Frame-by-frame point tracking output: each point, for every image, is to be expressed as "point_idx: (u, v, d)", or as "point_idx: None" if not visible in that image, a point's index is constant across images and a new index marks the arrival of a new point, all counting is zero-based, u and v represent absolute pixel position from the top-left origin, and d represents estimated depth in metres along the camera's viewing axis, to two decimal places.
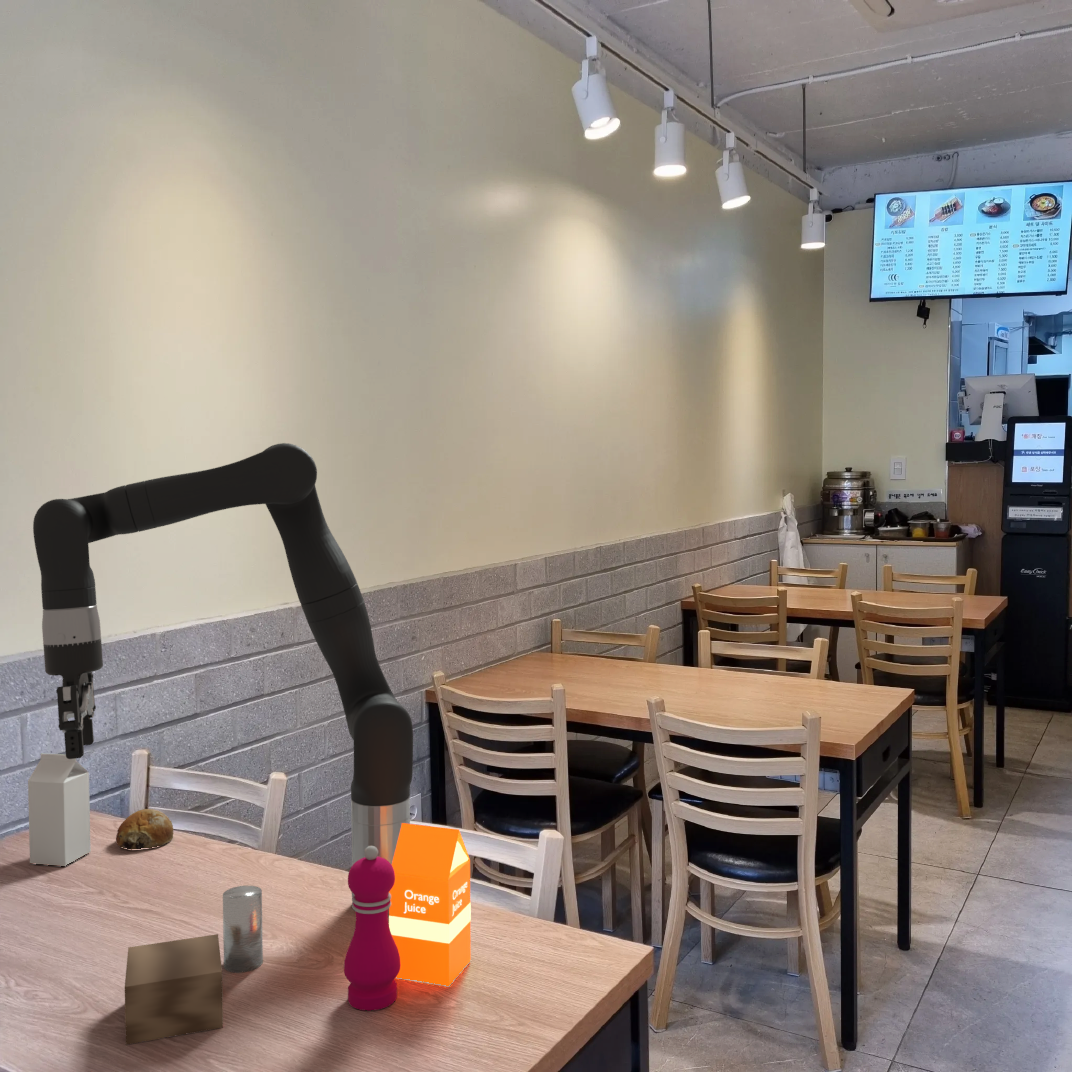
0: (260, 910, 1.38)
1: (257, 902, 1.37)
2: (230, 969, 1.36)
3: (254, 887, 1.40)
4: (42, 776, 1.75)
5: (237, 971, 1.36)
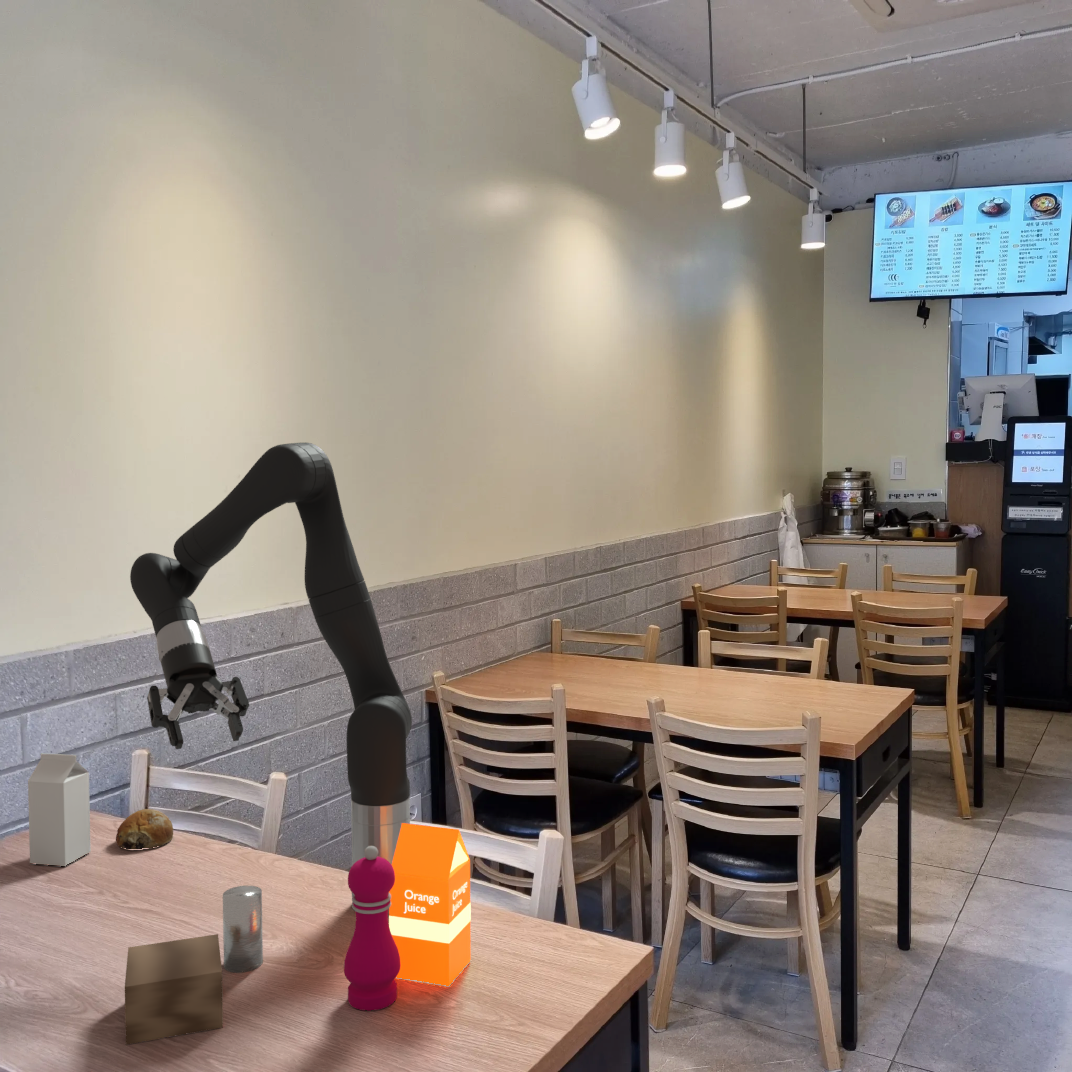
0: (260, 910, 1.38)
1: (257, 902, 1.37)
2: (230, 969, 1.36)
3: (254, 887, 1.40)
4: (42, 776, 1.75)
5: (237, 971, 1.36)
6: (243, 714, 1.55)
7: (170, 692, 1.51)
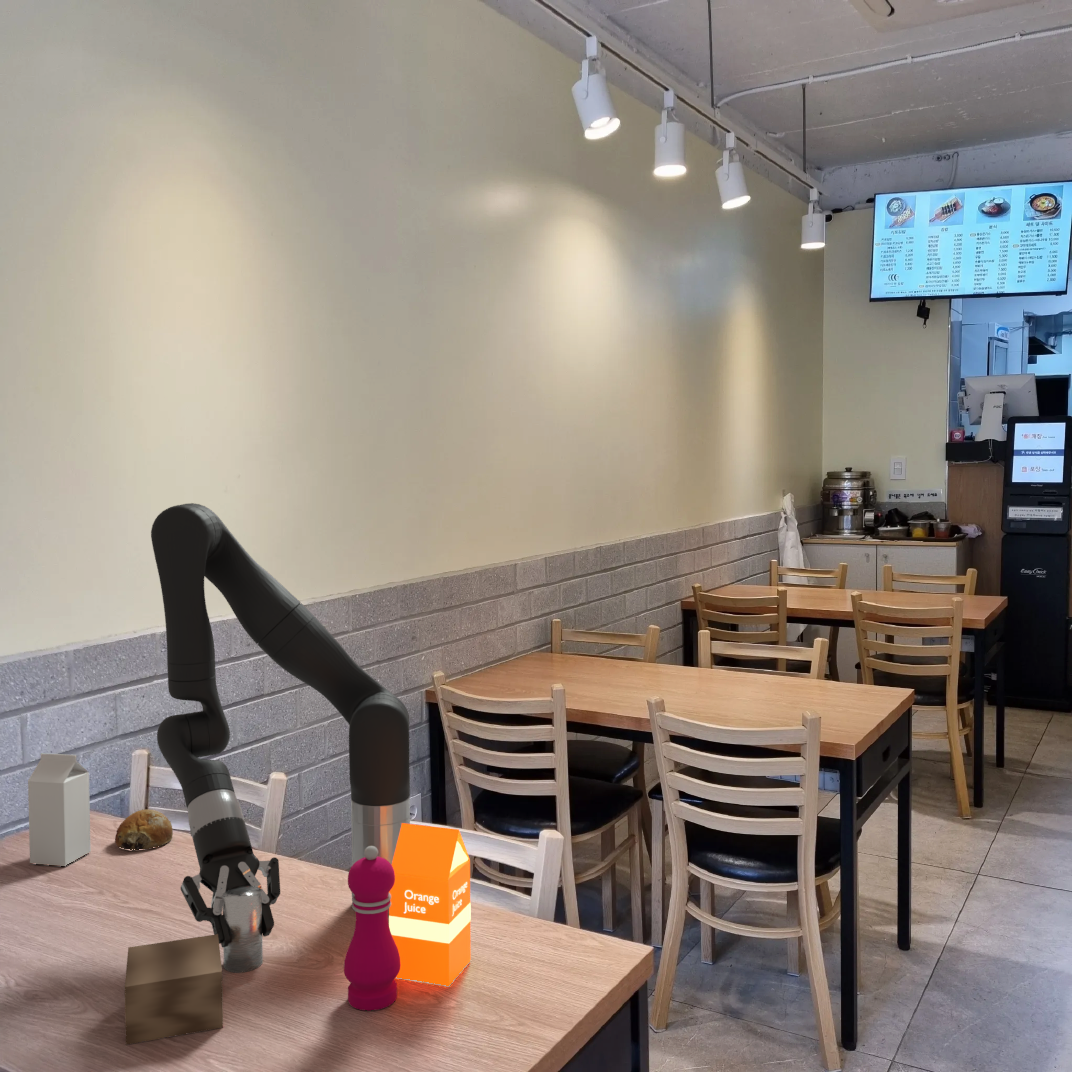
0: (260, 910, 1.38)
1: (257, 902, 1.37)
2: (230, 969, 1.36)
3: (254, 887, 1.40)
4: (42, 776, 1.75)
5: (237, 971, 1.36)
6: (273, 902, 1.42)
7: (205, 878, 1.39)
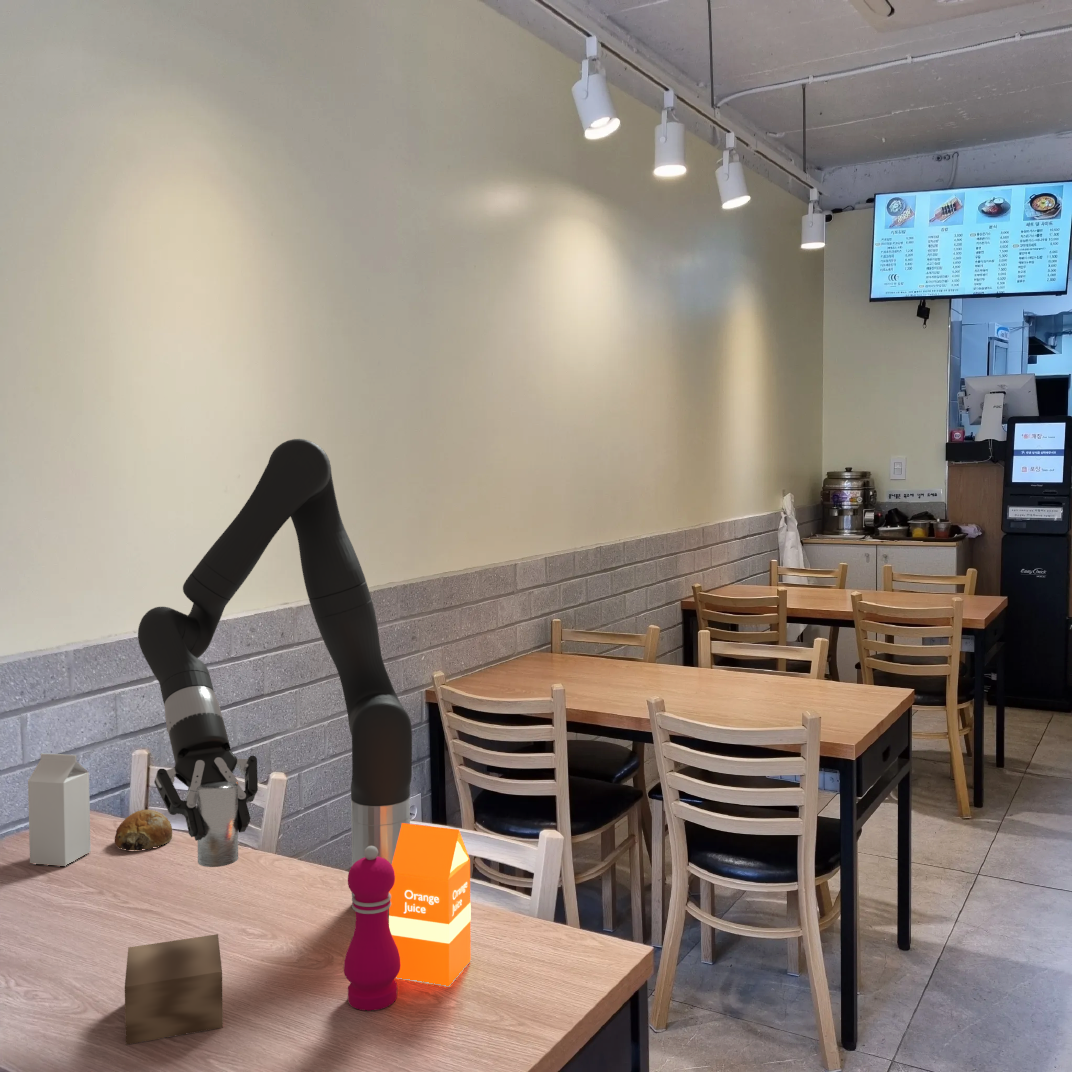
0: (236, 804, 1.33)
1: (232, 795, 1.32)
2: (204, 863, 1.31)
3: (230, 782, 1.35)
4: (42, 776, 1.75)
5: (211, 865, 1.31)
6: (250, 799, 1.38)
7: (180, 771, 1.35)
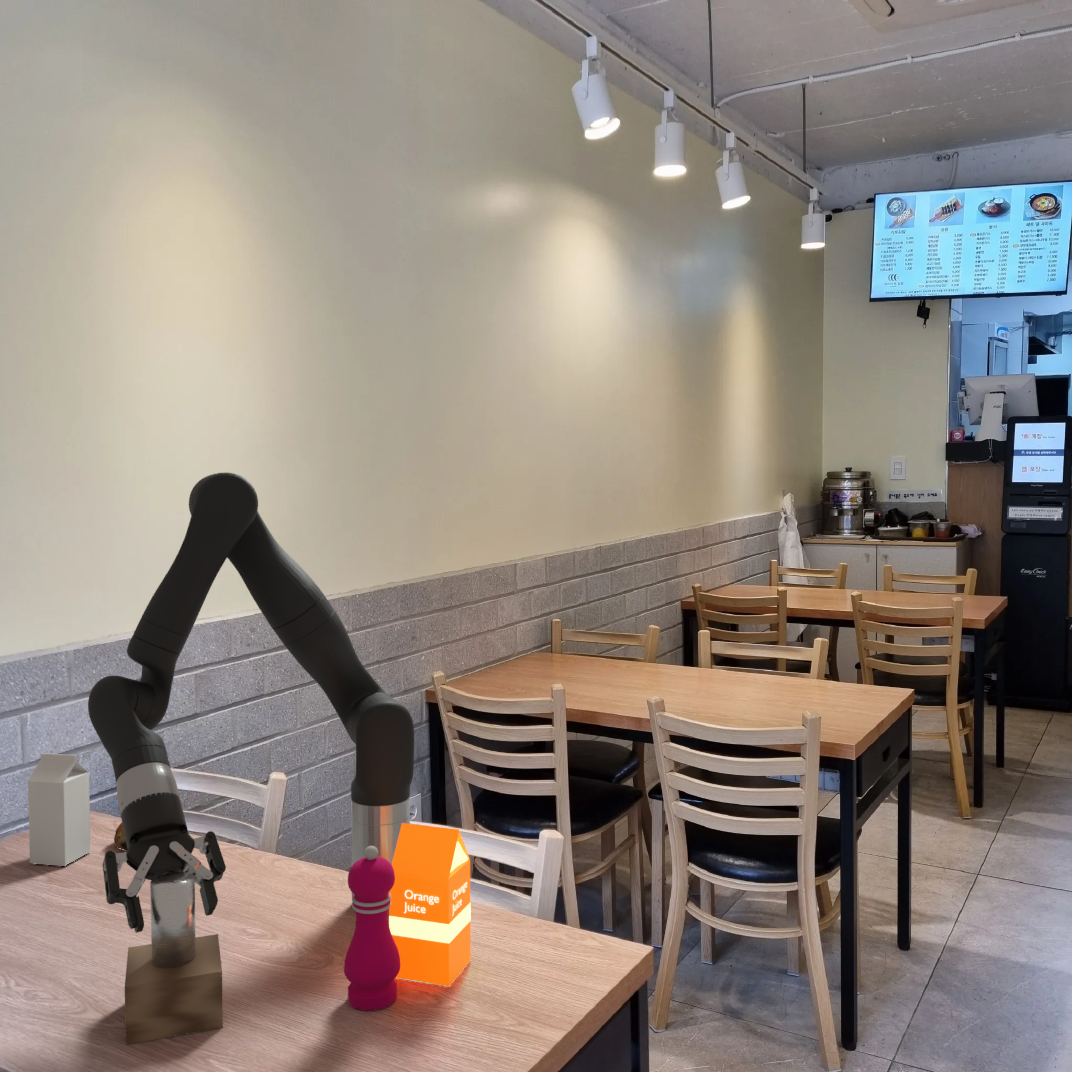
0: (192, 899, 1.24)
1: (188, 890, 1.23)
2: (158, 964, 1.22)
3: (187, 874, 1.26)
4: (42, 776, 1.75)
5: (165, 967, 1.22)
6: (218, 878, 1.30)
7: (130, 857, 1.25)
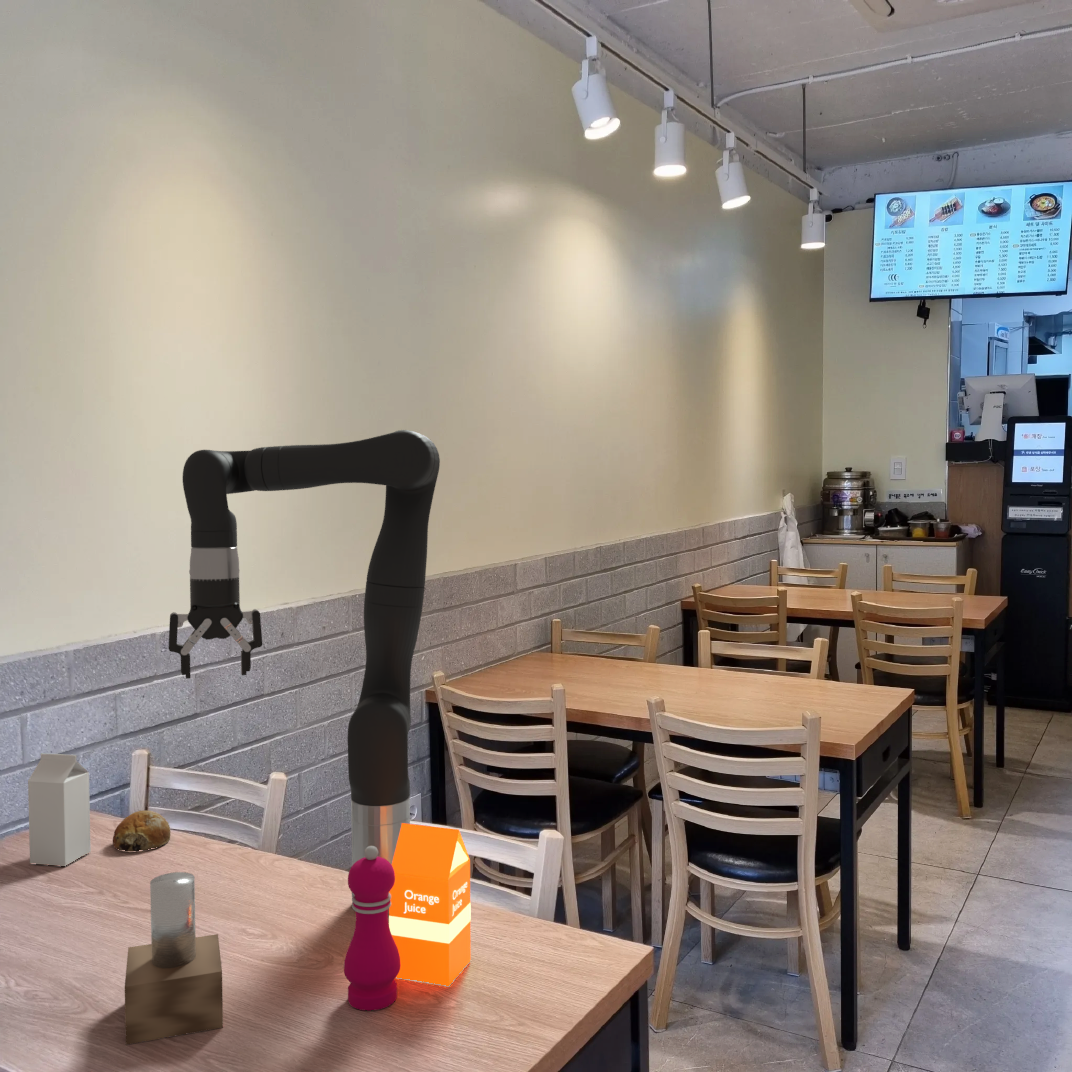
0: (192, 899, 1.24)
1: (188, 890, 1.23)
2: (158, 964, 1.22)
3: (187, 874, 1.26)
4: (42, 776, 1.75)
5: (165, 967, 1.22)
6: None
7: (189, 621, 1.57)
